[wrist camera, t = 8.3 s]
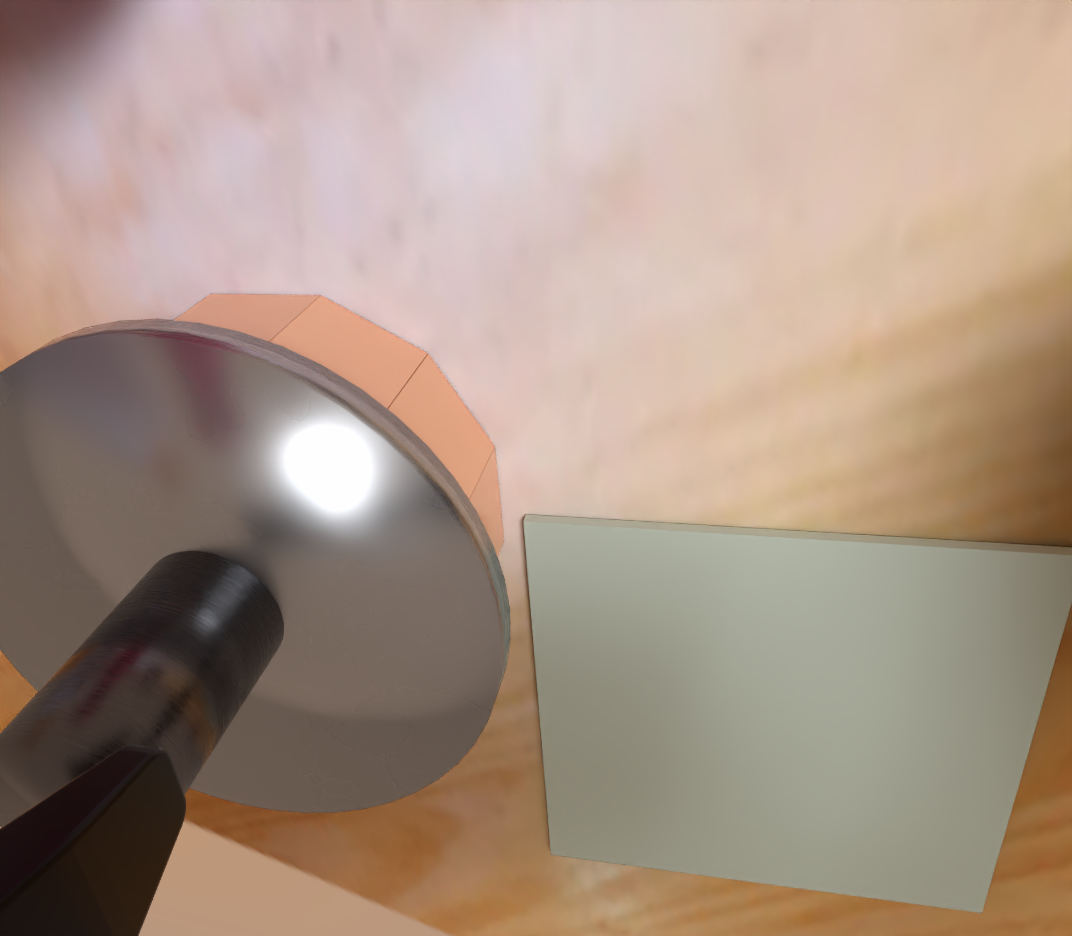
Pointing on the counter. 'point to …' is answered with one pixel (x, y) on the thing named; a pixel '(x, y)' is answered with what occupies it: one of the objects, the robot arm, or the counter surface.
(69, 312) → the counter surface
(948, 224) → the counter surface
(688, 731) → the mat
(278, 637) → the lid
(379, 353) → the bowl
